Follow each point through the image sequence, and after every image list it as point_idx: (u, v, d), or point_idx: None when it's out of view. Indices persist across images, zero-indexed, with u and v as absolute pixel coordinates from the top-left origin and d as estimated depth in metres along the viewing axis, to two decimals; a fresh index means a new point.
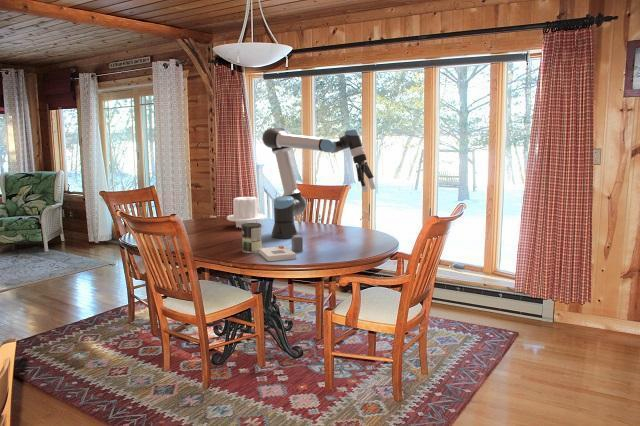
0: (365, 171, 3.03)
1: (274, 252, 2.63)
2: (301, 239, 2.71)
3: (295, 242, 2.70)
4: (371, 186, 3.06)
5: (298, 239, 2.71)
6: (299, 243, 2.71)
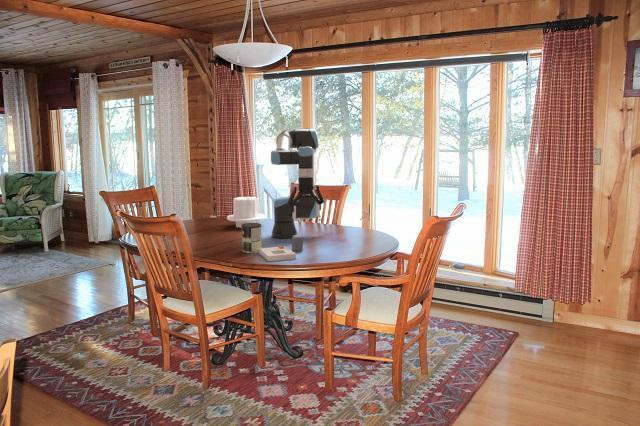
0: (311, 195, 2.72)
1: (274, 252, 2.63)
2: (301, 239, 2.71)
3: (295, 242, 2.70)
4: (316, 213, 2.74)
5: (298, 239, 2.71)
6: (299, 243, 2.71)
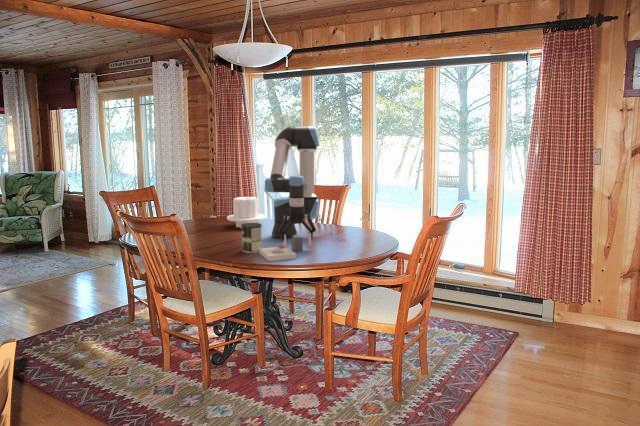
0: (303, 224, 2.73)
1: (274, 252, 2.63)
2: (301, 239, 2.71)
3: (295, 242, 2.70)
4: (308, 241, 2.75)
5: (298, 239, 2.71)
6: (299, 243, 2.71)
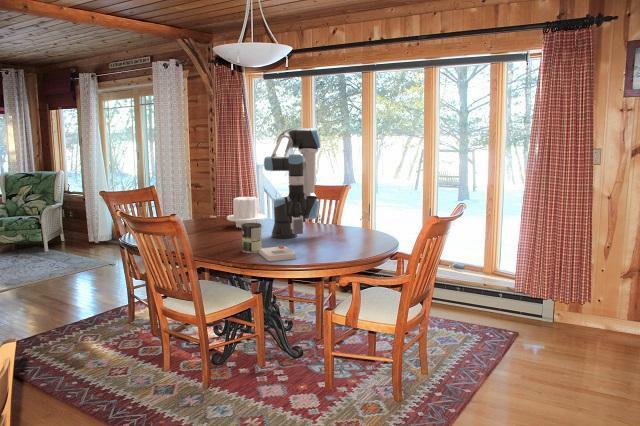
0: (299, 204, 2.71)
1: (274, 252, 2.63)
2: (301, 221, 2.70)
3: (295, 224, 2.69)
4: None
5: (298, 221, 2.69)
6: (299, 225, 2.70)
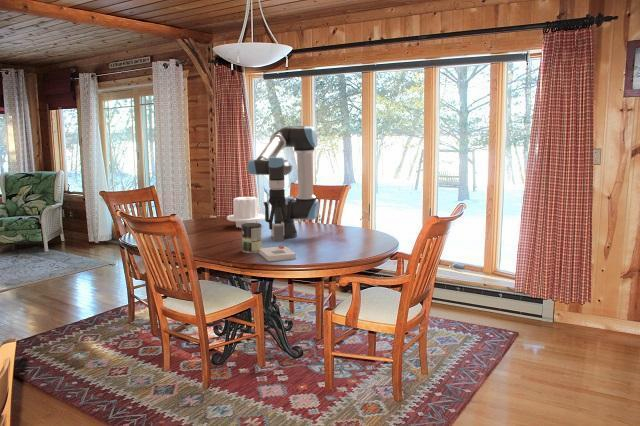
0: (280, 210, 2.58)
1: (274, 252, 2.63)
2: (282, 228, 2.57)
3: (275, 230, 2.56)
4: None
5: (279, 228, 2.56)
6: (280, 232, 2.57)
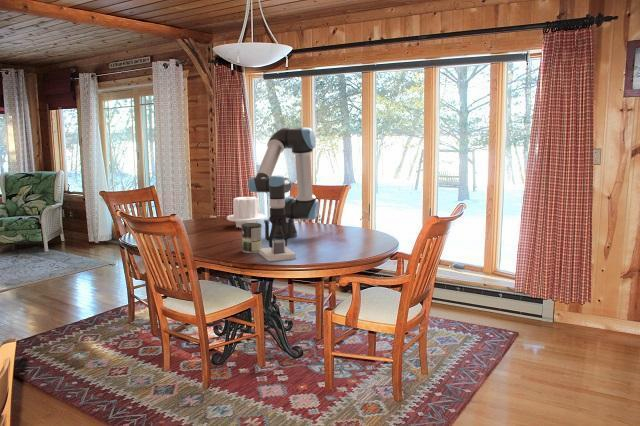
0: (281, 228, 2.59)
1: None
2: (282, 244, 2.58)
3: (276, 247, 2.57)
4: None
5: (279, 244, 2.57)
6: (280, 249, 2.58)
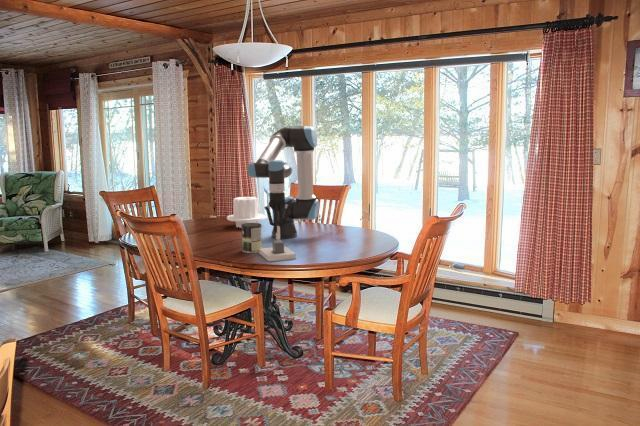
0: (278, 213, 2.58)
1: None
2: (282, 244, 2.58)
3: (276, 247, 2.57)
4: None
5: (279, 244, 2.57)
6: (280, 249, 2.58)
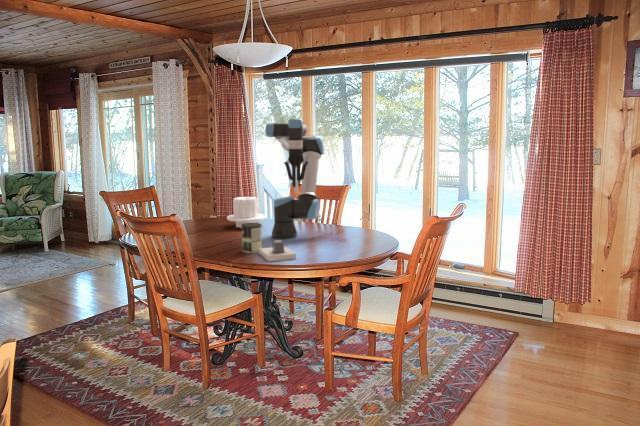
0: (297, 168, 2.77)
1: None
2: (282, 244, 2.58)
3: (276, 247, 2.57)
4: None
5: (279, 244, 2.57)
6: (280, 249, 2.58)
